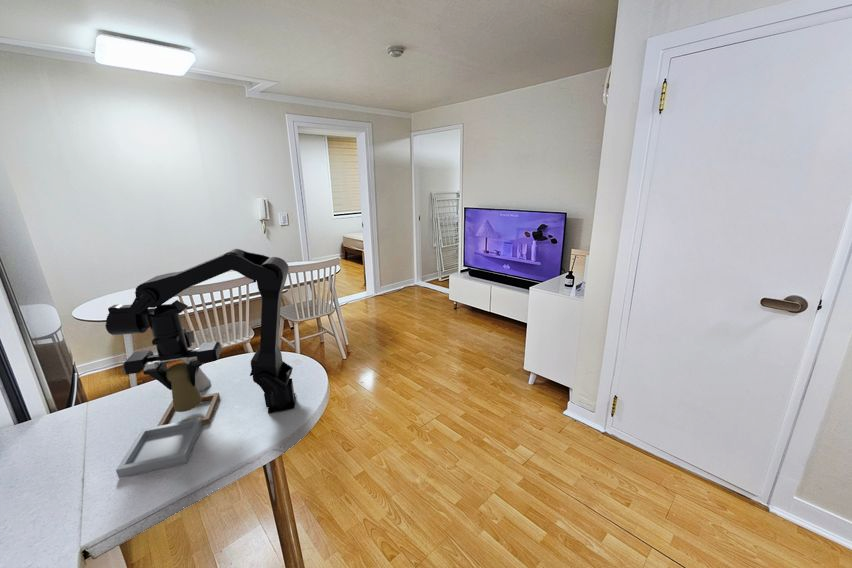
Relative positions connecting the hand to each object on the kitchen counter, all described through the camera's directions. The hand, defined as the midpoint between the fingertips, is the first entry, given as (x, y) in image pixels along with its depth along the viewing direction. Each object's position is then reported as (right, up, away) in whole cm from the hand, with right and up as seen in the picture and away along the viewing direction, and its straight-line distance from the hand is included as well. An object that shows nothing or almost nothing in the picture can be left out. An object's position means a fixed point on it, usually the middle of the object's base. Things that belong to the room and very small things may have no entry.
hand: (183, 387), depth 85 cm
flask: (-6, -4, +14) cm, 16 cm away
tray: (+2, -12, -8) cm, 14 cm away
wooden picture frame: (0, -8, +3) cm, 8 cm away
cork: (0, -5, +2) cm, 5 cm away
